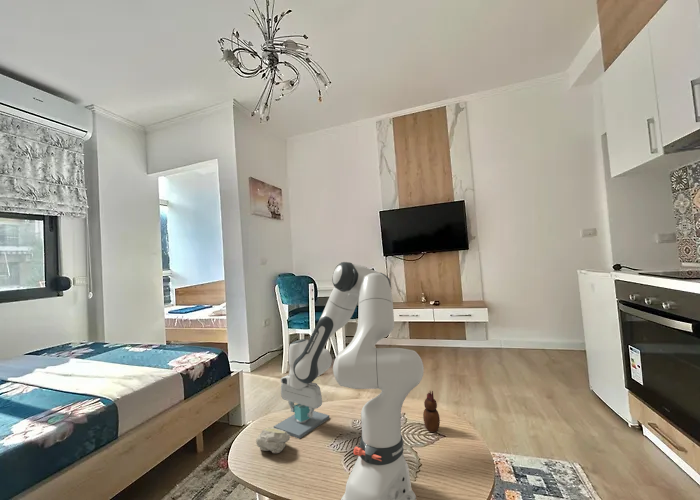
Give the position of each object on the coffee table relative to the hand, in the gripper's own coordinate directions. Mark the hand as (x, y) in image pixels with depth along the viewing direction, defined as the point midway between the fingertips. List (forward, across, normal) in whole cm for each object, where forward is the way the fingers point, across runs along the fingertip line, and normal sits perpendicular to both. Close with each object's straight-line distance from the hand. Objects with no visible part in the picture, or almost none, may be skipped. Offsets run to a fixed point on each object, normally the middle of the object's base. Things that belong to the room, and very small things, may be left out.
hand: (301, 414), depth 130 cm
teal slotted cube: (+2, 0, 0) cm, 2 cm away
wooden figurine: (+4, -47, -22) cm, 52 cm away
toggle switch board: (+4, 0, 0) cm, 4 cm away
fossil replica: (+4, -4, +19) cm, 20 cm away
